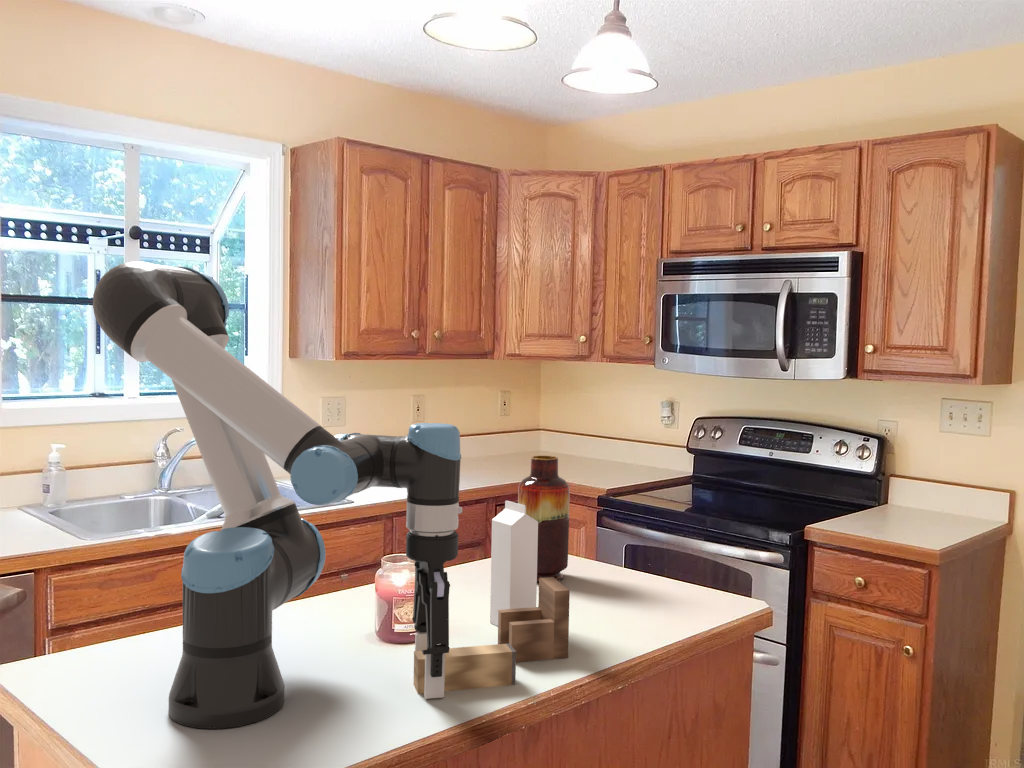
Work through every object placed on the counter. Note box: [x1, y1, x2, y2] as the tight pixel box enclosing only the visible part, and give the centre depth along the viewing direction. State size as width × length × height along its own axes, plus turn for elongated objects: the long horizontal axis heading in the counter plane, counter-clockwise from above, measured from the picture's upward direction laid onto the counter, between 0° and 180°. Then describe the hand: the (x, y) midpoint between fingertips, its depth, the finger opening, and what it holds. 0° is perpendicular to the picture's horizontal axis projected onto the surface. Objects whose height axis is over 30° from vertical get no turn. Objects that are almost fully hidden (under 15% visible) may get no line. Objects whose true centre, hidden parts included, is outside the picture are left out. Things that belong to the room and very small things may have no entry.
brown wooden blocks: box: [497, 577, 571, 663], centre depth 145 cm, size 10×8×11 cm
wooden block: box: [413, 643, 517, 695], centre depth 130 cm, size 15×4×5 cm, turn 106°
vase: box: [517, 455, 571, 582], centre depth 190 cm, size 11×11×26 cm
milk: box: [489, 500, 538, 627], centre depth 158 cm, size 6×6×22 cm
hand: (428, 685), depth 129 cm, fingers open, 7 cm apart
